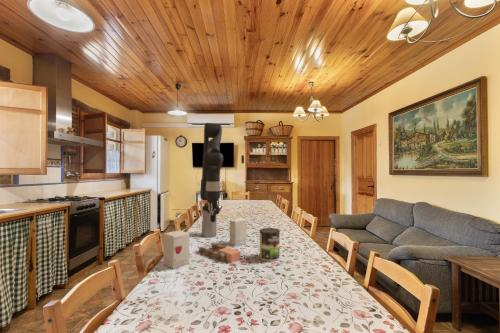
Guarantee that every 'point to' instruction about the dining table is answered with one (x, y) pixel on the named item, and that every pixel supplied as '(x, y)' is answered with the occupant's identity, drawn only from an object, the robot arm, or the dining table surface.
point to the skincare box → (237, 232)
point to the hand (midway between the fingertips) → (213, 221)
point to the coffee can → (269, 244)
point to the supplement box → (176, 249)
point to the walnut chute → (214, 254)
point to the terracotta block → (230, 254)
